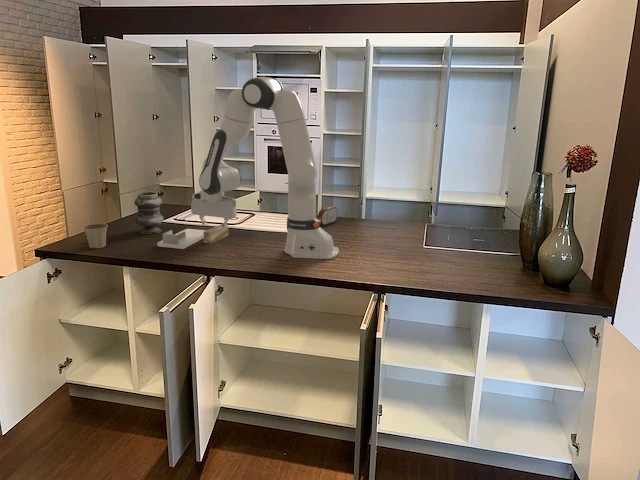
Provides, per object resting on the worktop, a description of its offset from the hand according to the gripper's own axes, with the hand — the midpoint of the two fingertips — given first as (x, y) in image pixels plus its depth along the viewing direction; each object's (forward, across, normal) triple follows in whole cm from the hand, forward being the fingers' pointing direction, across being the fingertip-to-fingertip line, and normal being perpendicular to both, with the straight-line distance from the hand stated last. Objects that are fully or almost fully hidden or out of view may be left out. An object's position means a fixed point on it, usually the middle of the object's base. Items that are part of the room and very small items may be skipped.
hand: (214, 226), depth 212 cm
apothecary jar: (+7, +33, -2) cm, 34 cm away
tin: (+5, -41, -43) cm, 60 cm away
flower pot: (+7, +41, +25) cm, 48 cm away
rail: (+6, -1, 0) cm, 6 cm away
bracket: (+6, +11, +5) cm, 14 cm away
